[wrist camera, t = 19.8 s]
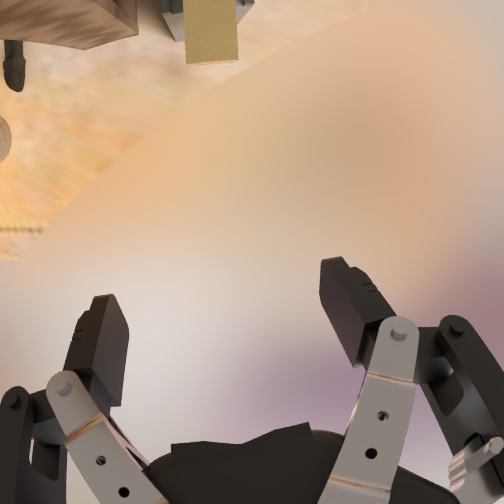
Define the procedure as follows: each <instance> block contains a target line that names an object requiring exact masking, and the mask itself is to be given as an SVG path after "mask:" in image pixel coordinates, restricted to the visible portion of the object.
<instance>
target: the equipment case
mask: <svg viewBox="0 0 504 504" xmlns="http://www.w3.org/2000/svg"><path fill="white" fill-rule="evenodd" d="M160 4H161V14H162V16H163V18H164V19H165V21H166V23H167V25H168V27H169V29H170V31H171V33H172V35H173V36H174V38H175V40H176V42H178V41H184V40H185V33H184V14H183V0H160ZM253 4H254V0H235V5H236V24H238V23H239V22H240V20H241V19H242V18H243V17H244V15H245V14H246V13H247V12H248V10H249V9H250V8H251V7H252V6H253Z"/></svg>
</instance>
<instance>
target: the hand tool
mask: <svg viewBox="0 0 504 504" xmlns="http://www.w3.org/2000/svg"><path fill="white" fill-rule="evenodd" d="M4 43H5V61H4V62H3V69H4V76H5V77H4V78H5V81H6V84H7V86H8V87H9V88H10V89H12V90H14V91H16V92H21V91H22V90H23V87H24V79H25V63H26V61H25V59H24V58H23V41H19V40H7V39H4Z"/></svg>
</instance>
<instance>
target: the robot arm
mask: <svg viewBox="0 0 504 504" xmlns="http://www.w3.org/2000/svg"><path fill="white" fill-rule="evenodd" d="M10 145H11V134H10V130H9V127H8V125H7V123H6V122H5V121H4V120H3V119H2V118H1V117H0V162H2V161H3V160H4V159H5V158H6V156H7V154H8V152H9V149H10ZM319 295H320V300H321V304H322V306H323V308H324V310H325V312H326V314H327V316H328V318H329V320H330V322H331V324H332V326H333V328H334V330H335V332H336V334H337V336H338V338H339V340H340V342H341V344H342V346H343V348H344V350H345V352H346V354H347V356H348V358H349V360H350V362H351V364H352V366H353V368H357V367H360V366H364V368H365V370H366V373H365V376H364V379H363V382H362V385H361V389H360V392H359V395H358V398H357V401H356V404H355V406H354V409H353V412H352V415H351V418H350V420H349V423H348V426H347V428H346V430H345V433H344V435H341V434H338V433H334V432H330V431H325V430H311V428H310V425H309V422H306V423H302V424H298V425H294V426H290V427H285V428H281V429H276V430H273V431H271V432H269V433H266V434H264V435H262V436H260V437H257V438H255V439H253V440H251V441H248V442H245V443H243V444H228V443H217V442H208V441H200V442H190V443H178V444H171V453H168V454H166V455H163V456H162V457H159V458H158V459H156V460H154V461H153V462H152V463H149V462H148V461H147V460H146V459H145V458H144V457H143V456H142V455H141V454H140V453H139V452H138V451H137V449H136V448H135V447H134V446H133V444H132V443H131V442H130V440H129V439H128V438H127V437H126V436H125V434H124V433H123V431H122V430H121V429H120V427H119V426H118V425H117V423H116V422H115V421H114V419H113V418H112V417H111V415H110V408H111V407H115V406H116V407H117V406H121V400H122V389H123V380H124V371H125V364H126V355H127V348H128V342H129V328H128V325H127V322H126V319H125V317H124V315H123V313H122V311H121V309H120V306H119V304H118V302H117V300H116V297H115V296H114V295H113V294H108V295H101V296H95V297H94V298H93V301H92V304H91V307H90V310H88V311H85V312H84V313H83V314H82V316H81V317H80V318H79V319H78V321H77V324H76V327H75V330H74V331H75V333H73V337H72V341H71V343H70V347H69V350H68V353H67V357H66V360H65V364H64V368H63V371H61V372H58V373H57V374H55V375H54V376H53V377H52V378H51V379H50V381H49V382H48V384H47V387H46V389H44V390H41V391H38V392H35V393H32V394H29V393H28V392H27V391H26V390H25V389H24V388H23V387H20V386H15V387H12V388H11V389H9V390H8V391H7V392H6V393H5V394H4V396H3V398H2V401H1V404H0V504H66V471H67V470H66V469H67V451H68V452H69V454H70V456H71V458H72V459H73V461H74V462H75V464H76V466H77V468H78V469H79V471H80V473H81V474H82V476H83V477H84V479H85V481H86V482H87V484H88V485H89V487H90V488H91V490H92V492H93V493H94V495H95V496H96V498H97V499H98V500H99V502H100V503H101V504H493V503H494V502H496V501H497V500H499V499H500V498H502V497H504V372H503V370H502V369H501V367H500V365H499V364H498V363H497V361H496V359H495V358H494V356H493V355H492V353H491V352H490V351H489V349H488V348H487V346H486V345H485V343H484V342H483V341H482V339H481V338H480V336H479V335H478V333H477V332H476V331H475V329H474V328H473V327H472V325H471V324H470V323H469V322H468V321H467V320H466V319H464V318H463V317H460V316H456V315H448V316H446V317H444V318H443V319H442V320H441V322H440V324H439V327H417V326H416V325H415V323H413V322H412V321H411V320H409V319H407V318H404V317H400V316H397V315H396V314H395V312H394V311H393V309H392V308H391V307H390V305H389V304H388V303H387V301H386V300H385V298H384V297H383V296H382V294H381V293H380V291H378V289H377V287H376V286H375V285H374V284H373V283H372V281H371V279H370V278H369V277H368V275H367V274H366V273H365V272H363V271H362V270H360V269H358V268H357V267H351V268H350V267H349V266H348V264H347V263H346V262H345V261H344V259H343V258H342V257H334V258H329V259H323V260H322V261H321V270H320V287H319ZM416 384H420V386H421V388H422V390H423V392H424V394H425V396H426V398H427V400H428V402H429V404H430V406H431V408H432V411H433V413H434V415H435V417H436V419H437V421H438V423H439V425H440V427H441V430H442V432H443V434H444V436H445V439H446V441H447V443H448V445H449V447H450V450H451V452H452V454H453V458H452V460H451V462H450V465H449V480H450V487H449V490H448V489H446V488H444V487H442V486H440V485H437V484H435V483H433V482H431V481H429V480H427V479H424V478H422V477H420V476H418V475H416V474H414V473H412V472H410V471H408V470H406V469H404V468H402V467H400V466H398V463H399V459H400V456H401V453H402V449H403V445H404V441H405V437H406V433H407V429H408V425H409V420H410V416H411V411H412V406H413V401H414V396H415V390H416ZM31 438H32V439H33V440H34V445H33V454H32V463H31V464H30V461H29V454H30V446H31Z"/></svg>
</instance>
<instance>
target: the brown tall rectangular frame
mask: <svg viewBox="0 0 504 504" xmlns="http://www.w3.org/2000/svg"><path fill="white" fill-rule="evenodd" d="M135 35H139V30H138V20H137V8H136V0H0V39H7V40H19V41H29V42H37V43H45V44H52V45H58V46H64V47H70V48H75V49H81V50H87V49H90V48H93V47H96V46H99V45H102V44H106V43H109V42H112V41H116V40H120V39H123V38H127V37H131V36H135Z"/></svg>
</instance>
